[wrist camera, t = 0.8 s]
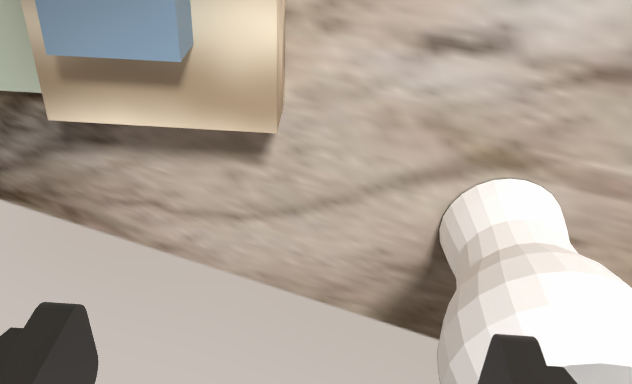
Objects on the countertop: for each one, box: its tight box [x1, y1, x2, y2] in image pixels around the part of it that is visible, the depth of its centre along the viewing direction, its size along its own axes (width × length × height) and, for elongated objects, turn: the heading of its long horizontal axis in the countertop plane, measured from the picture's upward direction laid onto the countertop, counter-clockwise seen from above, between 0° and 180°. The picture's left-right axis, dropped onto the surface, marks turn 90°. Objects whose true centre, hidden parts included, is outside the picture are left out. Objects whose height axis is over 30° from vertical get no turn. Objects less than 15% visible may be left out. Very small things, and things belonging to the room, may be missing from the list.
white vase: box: [437, 179, 632, 384], centre depth 31 cm, size 11×11×15 cm
